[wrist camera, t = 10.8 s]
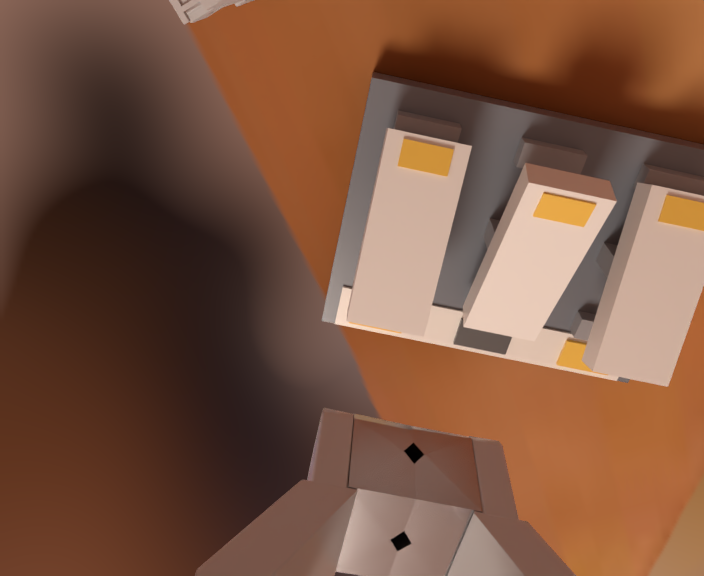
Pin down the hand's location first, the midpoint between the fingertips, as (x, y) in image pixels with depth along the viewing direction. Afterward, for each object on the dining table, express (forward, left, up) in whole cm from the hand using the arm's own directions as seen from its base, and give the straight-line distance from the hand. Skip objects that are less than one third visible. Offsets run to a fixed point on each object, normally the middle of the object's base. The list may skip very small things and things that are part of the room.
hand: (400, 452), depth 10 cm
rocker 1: (+8, +2, -29) cm, 30 cm away
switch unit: (+9, +10, -34) cm, 36 cm away
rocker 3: (+8, +18, -28) cm, 34 cm away
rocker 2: (+8, +10, -28) cm, 30 cm away
